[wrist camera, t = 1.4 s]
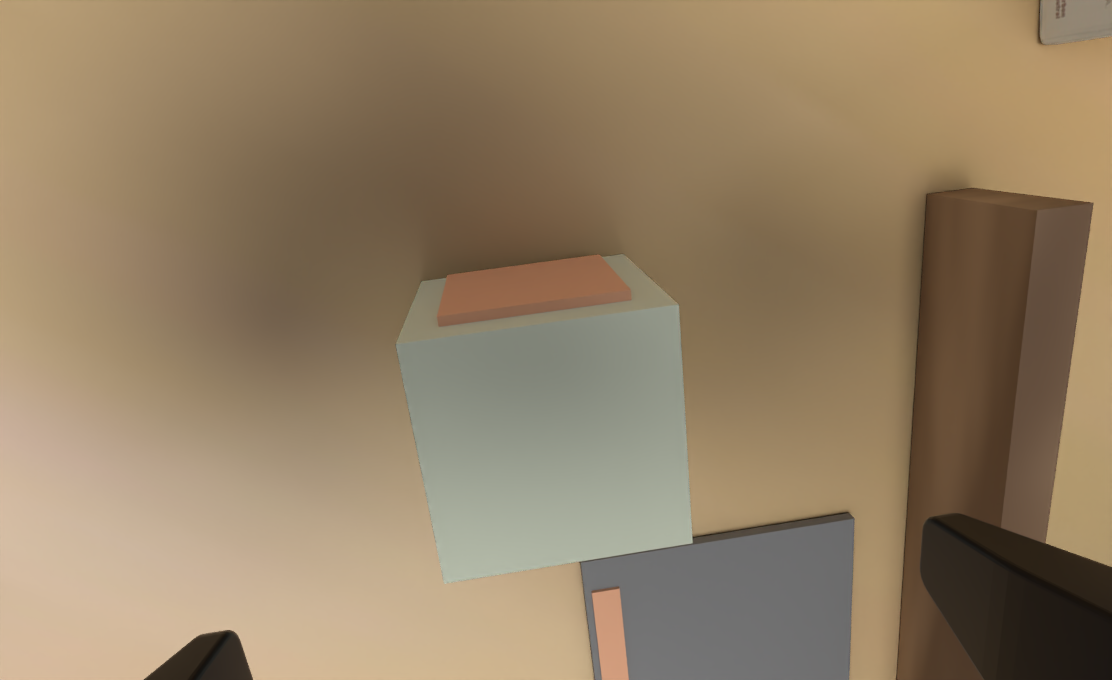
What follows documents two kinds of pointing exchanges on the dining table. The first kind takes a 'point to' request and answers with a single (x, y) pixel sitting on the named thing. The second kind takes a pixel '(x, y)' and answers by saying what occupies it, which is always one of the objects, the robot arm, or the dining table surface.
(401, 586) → the dining table surface
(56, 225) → the dining table surface
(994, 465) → the block
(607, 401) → the sage cube
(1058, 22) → the supplement box
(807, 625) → the tile
